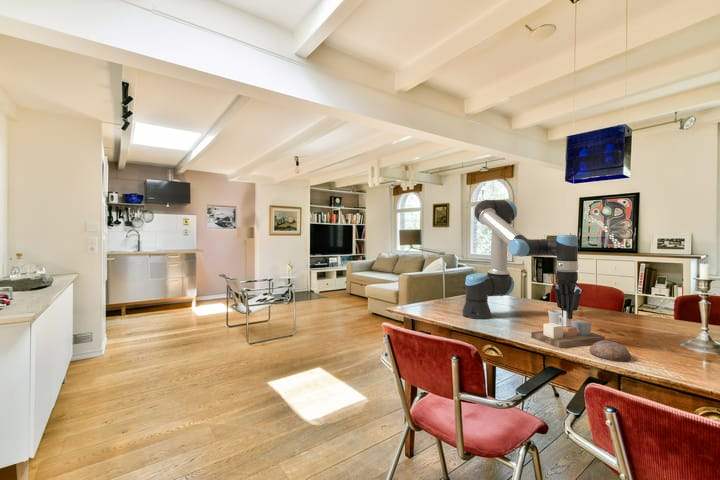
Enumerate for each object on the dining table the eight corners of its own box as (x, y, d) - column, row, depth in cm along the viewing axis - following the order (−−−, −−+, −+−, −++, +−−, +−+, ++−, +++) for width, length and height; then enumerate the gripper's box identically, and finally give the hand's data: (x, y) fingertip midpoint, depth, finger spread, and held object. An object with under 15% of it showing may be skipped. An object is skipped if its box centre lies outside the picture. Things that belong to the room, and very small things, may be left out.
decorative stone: (582, 352, 123) (581, 338, 123) (606, 349, 126) (606, 335, 126) (613, 364, 111) (613, 348, 111) (639, 360, 114) (639, 345, 114)
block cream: (543, 335, 136) (543, 323, 136) (552, 334, 138) (552, 322, 138) (553, 339, 132) (553, 326, 132) (563, 337, 133) (563, 325, 133)
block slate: (570, 332, 140) (570, 321, 140) (579, 331, 142) (579, 320, 142) (581, 335, 136) (581, 324, 136) (590, 334, 137) (590, 323, 137)
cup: (573, 332, 147) (573, 315, 147) (554, 331, 149) (554, 314, 149) (563, 326, 158) (563, 309, 158) (545, 325, 159) (545, 309, 159)
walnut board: (531, 337, 140) (531, 332, 140) (573, 332, 147) (574, 327, 147) (559, 348, 127) (559, 342, 127) (604, 342, 133) (604, 336, 133)
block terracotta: (557, 336, 138) (557, 325, 138) (566, 335, 140) (566, 324, 140) (567, 340, 134) (567, 328, 134) (577, 339, 135) (577, 327, 135)
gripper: (547, 269, 142) (547, 322, 142) (574, 272, 129) (574, 330, 129) (560, 269, 144) (560, 321, 144) (588, 272, 131) (588, 329, 131)
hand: (567, 325), depth 137 cm, fingers closed
